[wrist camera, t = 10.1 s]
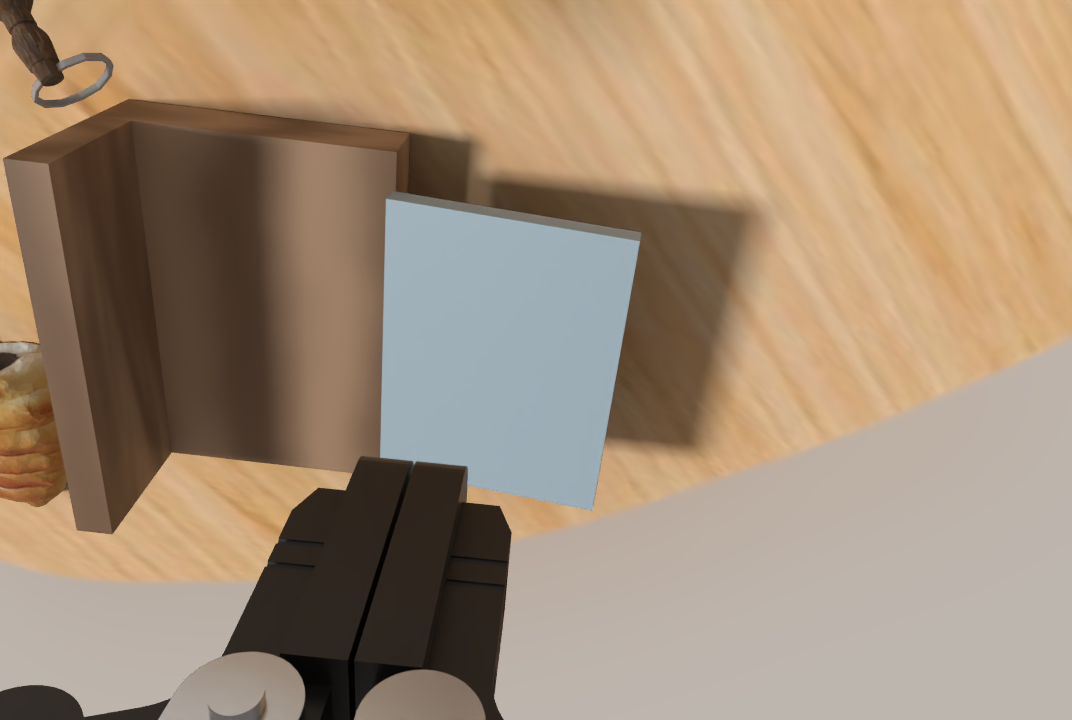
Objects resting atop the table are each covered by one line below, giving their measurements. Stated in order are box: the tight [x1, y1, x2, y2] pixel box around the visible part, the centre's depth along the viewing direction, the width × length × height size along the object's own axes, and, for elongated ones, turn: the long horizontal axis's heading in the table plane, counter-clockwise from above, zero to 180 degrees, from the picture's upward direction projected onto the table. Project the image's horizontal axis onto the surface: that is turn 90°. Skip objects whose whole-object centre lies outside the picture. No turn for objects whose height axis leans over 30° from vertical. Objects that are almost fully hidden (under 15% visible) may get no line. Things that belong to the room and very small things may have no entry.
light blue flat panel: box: [380, 191, 642, 511], centre depth 37 cm, size 2×13×10 cm
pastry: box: [0, 342, 67, 507], centre depth 43 cm, size 9×7×4 cm
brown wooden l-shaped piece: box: [3, 99, 410, 534], centre depth 36 cm, size 12×16×9 cm
